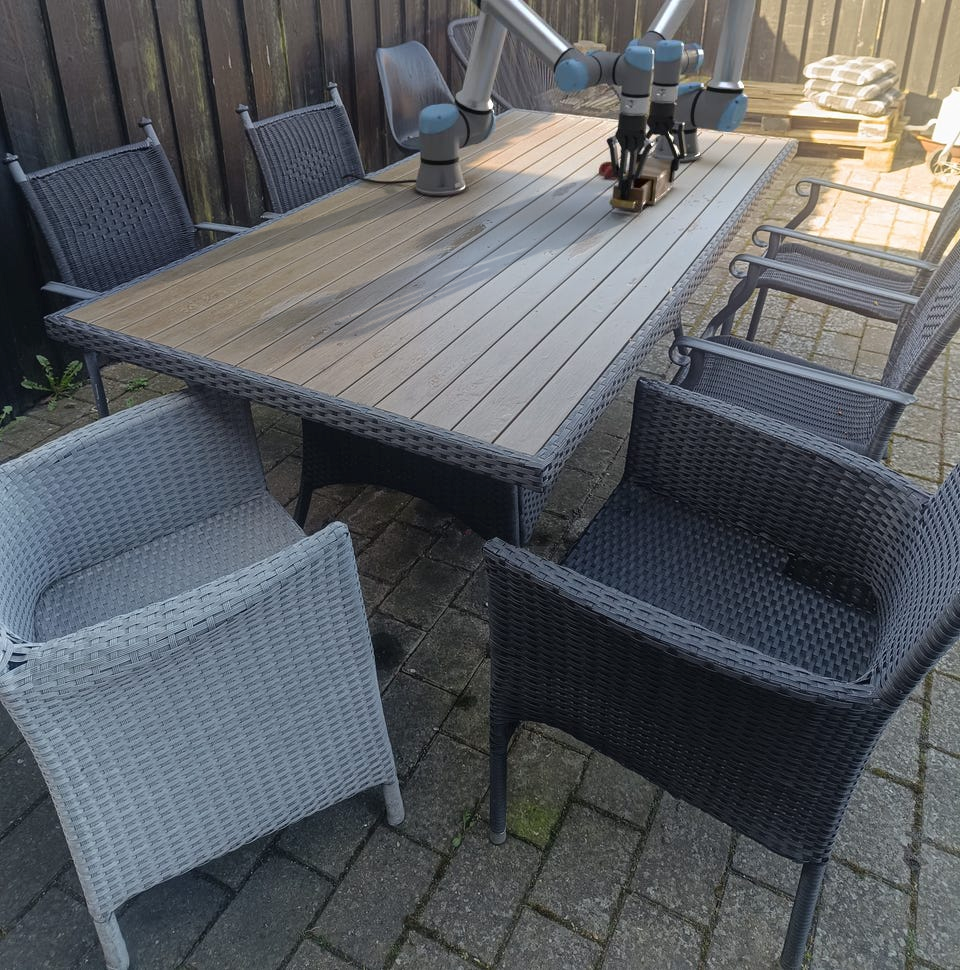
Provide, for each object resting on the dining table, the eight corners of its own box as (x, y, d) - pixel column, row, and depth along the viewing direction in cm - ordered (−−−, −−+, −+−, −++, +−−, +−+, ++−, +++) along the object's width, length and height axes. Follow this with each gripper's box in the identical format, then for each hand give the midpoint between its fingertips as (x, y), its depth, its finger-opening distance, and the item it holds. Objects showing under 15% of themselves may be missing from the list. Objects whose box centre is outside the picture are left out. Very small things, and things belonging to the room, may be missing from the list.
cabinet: (654, 205, 246) (657, 176, 241) (621, 200, 249) (624, 172, 245) (672, 187, 260) (676, 160, 255) (641, 183, 263) (644, 157, 259)
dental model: (614, 158, 272) (623, 164, 265) (613, 171, 274) (622, 178, 268) (597, 159, 271) (606, 166, 264) (597, 173, 273) (606, 180, 267)
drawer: (635, 217, 233) (637, 195, 230) (605, 212, 236) (607, 190, 233) (659, 194, 251) (662, 174, 247) (631, 191, 254) (633, 170, 250)
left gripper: (605, 112, 221) (597, 202, 235) (653, 118, 217) (641, 209, 231) (614, 107, 227) (606, 195, 241) (661, 112, 222) (650, 202, 236)
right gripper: (622, 99, 245) (615, 177, 258) (698, 106, 237) (687, 187, 250) (630, 94, 251) (622, 171, 264) (705, 101, 243) (693, 180, 256)
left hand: (623, 202), depth 236 cm, fingers closed
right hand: (654, 179), depth 257 cm, fingers closed on cabinet, 10 cm apart
